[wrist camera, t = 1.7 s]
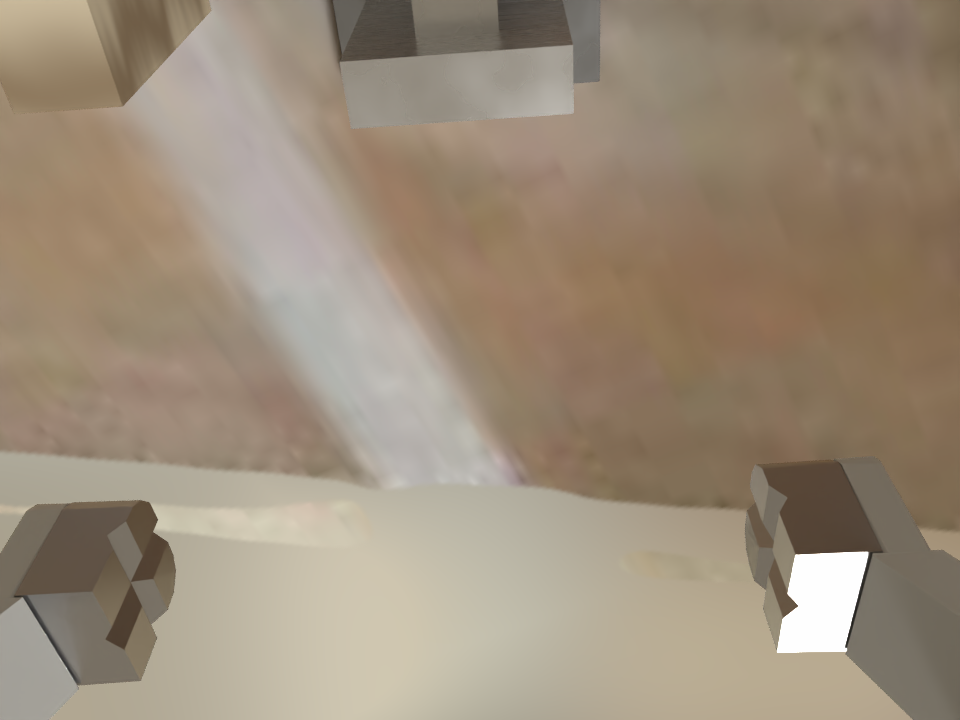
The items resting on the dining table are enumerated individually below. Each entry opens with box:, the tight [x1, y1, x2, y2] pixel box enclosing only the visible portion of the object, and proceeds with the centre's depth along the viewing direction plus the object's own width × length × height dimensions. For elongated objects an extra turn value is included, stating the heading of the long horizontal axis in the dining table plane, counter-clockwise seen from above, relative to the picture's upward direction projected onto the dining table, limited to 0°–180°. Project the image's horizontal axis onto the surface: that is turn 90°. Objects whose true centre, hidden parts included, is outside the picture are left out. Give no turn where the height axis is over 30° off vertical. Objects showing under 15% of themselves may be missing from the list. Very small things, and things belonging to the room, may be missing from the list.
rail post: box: [0, 0, 211, 114], centre depth 34 cm, size 4×4×12 cm
